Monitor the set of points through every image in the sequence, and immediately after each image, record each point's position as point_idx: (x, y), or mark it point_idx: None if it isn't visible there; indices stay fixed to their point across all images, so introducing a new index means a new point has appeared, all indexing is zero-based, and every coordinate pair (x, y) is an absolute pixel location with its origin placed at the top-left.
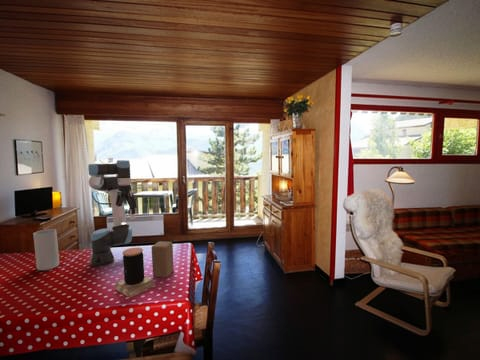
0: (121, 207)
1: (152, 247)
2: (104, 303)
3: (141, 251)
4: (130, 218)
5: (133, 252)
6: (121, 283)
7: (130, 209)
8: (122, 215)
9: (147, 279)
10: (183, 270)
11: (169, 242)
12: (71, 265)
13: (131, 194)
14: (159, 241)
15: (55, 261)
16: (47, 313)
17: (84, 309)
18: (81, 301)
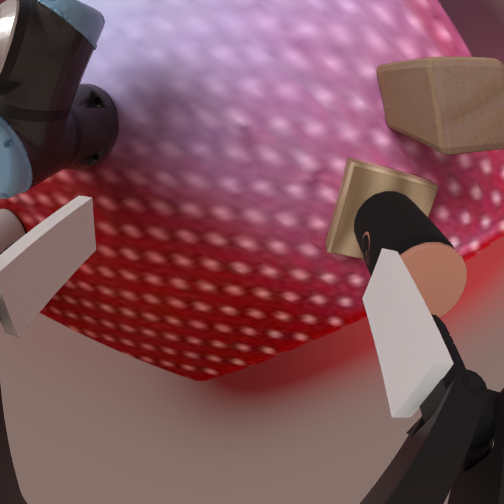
0: (16, 281)
1: (449, 154)
2: (352, 299)
3: (466, 276)
4: (368, 306)
5: (439, 300)
6: (353, 250)
7: (409, 412)
8: (89, 208)
9: (421, 197)
10: (457, 51)
11: (499, 76)
12: (36, 196)
13: None
14: (441, 69)
15: (12, 234)
16: (257, 358)
17: (324, 328)
18: (284, 313)
